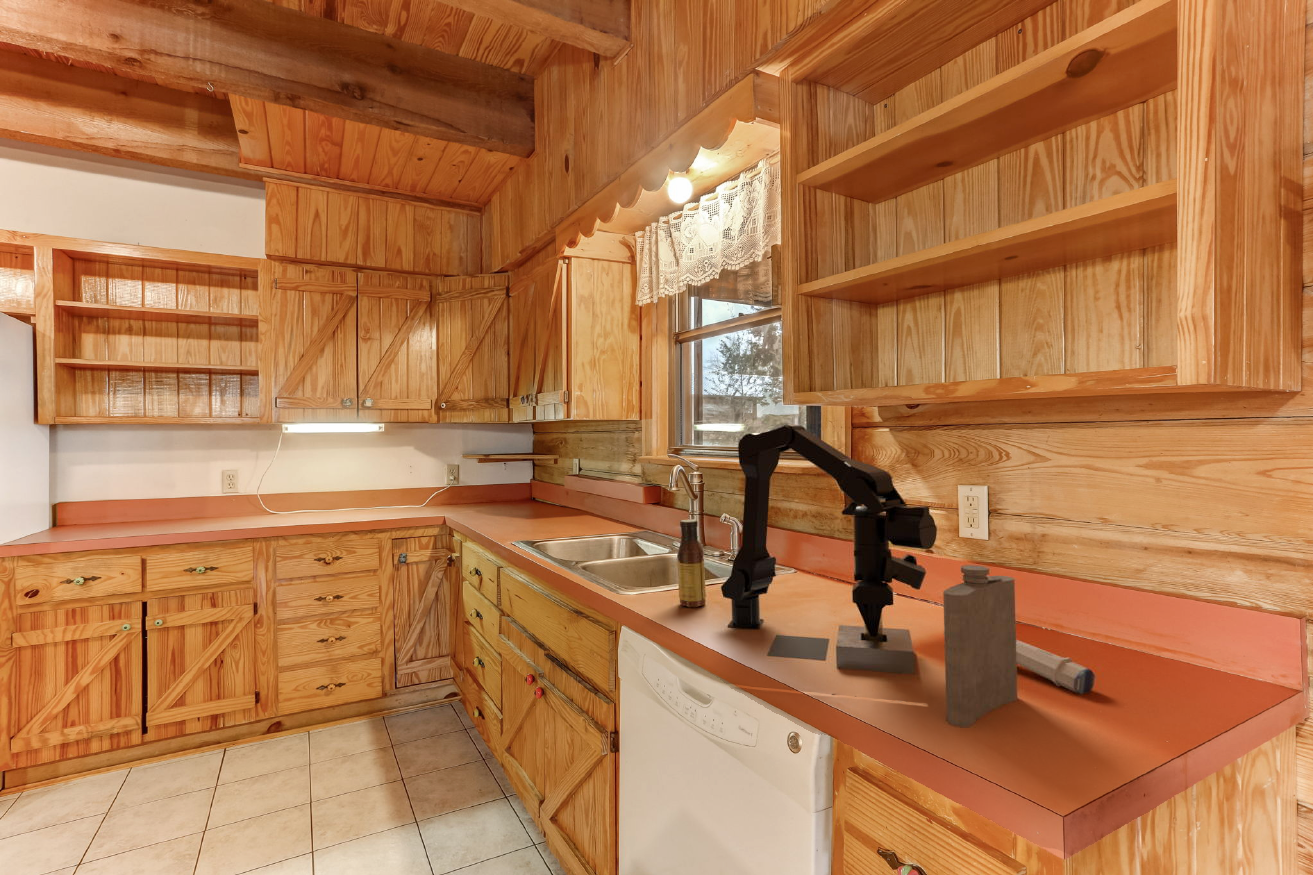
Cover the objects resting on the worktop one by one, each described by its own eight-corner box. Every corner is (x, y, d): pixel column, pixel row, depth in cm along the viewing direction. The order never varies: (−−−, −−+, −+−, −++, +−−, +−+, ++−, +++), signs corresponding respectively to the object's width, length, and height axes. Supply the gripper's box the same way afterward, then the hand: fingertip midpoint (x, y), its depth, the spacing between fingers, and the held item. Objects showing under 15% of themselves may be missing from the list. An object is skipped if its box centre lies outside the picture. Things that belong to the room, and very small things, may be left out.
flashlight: (1076, 672, 93) (939, 608, 116) (1071, 715, 94) (936, 643, 117) (1099, 666, 95) (960, 604, 118) (1094, 708, 96) (957, 638, 119)
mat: (776, 636, 124) (776, 634, 124) (829, 640, 121) (829, 638, 121) (766, 657, 113) (766, 655, 113) (825, 662, 110) (825, 660, 110)
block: (839, 646, 118) (839, 624, 118) (909, 652, 114) (909, 629, 114) (836, 669, 106) (836, 645, 106) (914, 676, 102) (913, 651, 102)
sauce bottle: (692, 600, 154) (690, 517, 154) (711, 604, 149) (709, 519, 149) (672, 605, 149) (670, 520, 149) (692, 610, 145) (689, 522, 145)
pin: (864, 644, 112) (863, 593, 112) (882, 646, 111) (881, 594, 111) (864, 650, 109) (863, 597, 109) (883, 651, 108) (882, 598, 108)
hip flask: (964, 729, 84) (961, 577, 84) (935, 719, 87) (931, 572, 87) (1021, 697, 94) (1018, 560, 94) (993, 689, 97) (989, 557, 97)
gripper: (926, 554, 99) (929, 655, 99) (917, 535, 116) (919, 621, 116) (851, 551, 102) (853, 649, 102) (853, 533, 120) (855, 617, 120)
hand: (873, 633), depth 110 cm, fingers closed on pin, 3 cm apart
